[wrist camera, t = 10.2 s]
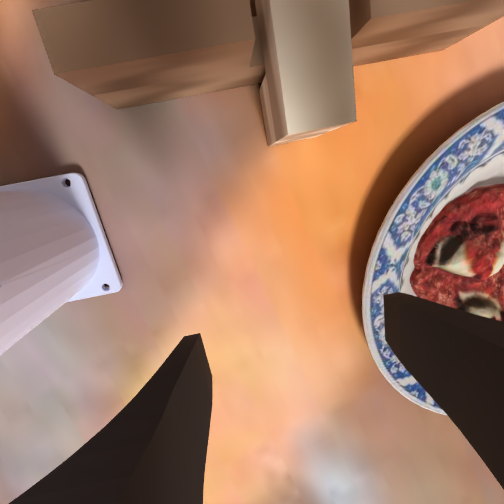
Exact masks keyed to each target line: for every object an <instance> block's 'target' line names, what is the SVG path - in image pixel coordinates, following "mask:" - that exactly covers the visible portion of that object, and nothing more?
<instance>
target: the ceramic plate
mask: <svg viewBox="0 0 504 504" xmlns="http://www.w3.org/2000/svg"><path fill="white" fill-rule="evenodd" d="M396 292H401V293H406V294H409V295H413V296H416V297H420V298H423V299H426V300H430V301H433V302H436V303H439V304H442V305H446V306H449V307H452V308H455V309H459V310H462V311H465V312H469V313H472V314H476V315H479V316H483V317H487V318H491V319H494V320H498V321H502V322H504V102H502V103H499V104H497V105H496V106H494V107H492V108H491V109H489V110H487V111H486V112H484V113H482V114H480V115H479V116H477V117H476V118H474V119H473V120H472V121H470V122H469V123H467V124H466V125H465V126H463V127H462V128H460V129H459V130H458V131H457V132H455V133H454V134H453V135H452V136H451V137H449V138H448V139H447V140H446V141H445V142H444V143H442V144H441V145H440V146H439V147H438V148H437V149H436V150H435V151H434V152H433V153H432V154H431V155H430V156H429V157H428V158H427V159H426V160H425V161H424V163H423V164H422V165H421V166H420V167H419V168H418V170H417V171H416V172H415V173H414V174H413V175H412V177H411V178H410V179H409V181H408V182H407V183H406V185H405V186H404V188H403V189H402V190H401V192H400V193H399V195H398V196H397V198H396V200H395V201H394V203H393V204H392V206H391V208H390V209H389V211H388V213H387V215H386V217H385V219H384V221H383V223H382V225H381V227H380V229H379V231H378V234H377V236H376V239H375V241H374V244H373V246H372V249H371V252H370V256H369V259H368V263H367V266H366V272H365V278H364V283H363V289H362V318H363V326H364V332H365V336H366V340H367V344H368V346H369V349H370V352H371V354H372V357H373V359H374V360H375V362H376V364H377V366H378V368H379V370H380V371H381V373H382V374H383V375H384V377H385V378H386V380H387V381H388V382H389V383H390V384H391V385H392V386H393V387H394V388H395V389H396V390H397V391H398V392H399V393H401V394H402V395H403V396H404V397H406V398H407V399H409V400H410V401H412V402H413V403H415V404H417V405H419V406H421V407H423V408H425V409H428V410H431V411H434V412H436V413H440V414H444V415H447V414H446V413H445V412H444V411H443V410H442V409H441V407H440V406H439V405H438V404H437V403H436V402H435V401H434V400H433V399H432V397H431V396H430V395H429V394H428V393H427V392H426V391H425V390H424V389H423V387H422V386H421V385H420V384H419V383H418V382H417V381H416V380H415V378H414V377H413V376H412V375H411V374H410V373H409V372H408V371H407V369H406V368H405V367H404V366H403V365H402V364H401V362H400V361H399V360H398V358H397V357H396V355H395V354H394V353H393V351H392V350H391V348H390V347H389V345H388V344H387V342H386V341H385V327H384V300H383V295H387V294H391V293H396Z"/></svg>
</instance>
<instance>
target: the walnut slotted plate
mask: <svg viewBox="0 0 504 504" xmlns="http://www.w3.org/2000/svg"><path fill="white" fill-rule="evenodd" d="M32 12H33V15H34V18H35V21H36V23H37V26H38V29H39V32H40V35H41V38H42V40H43V43H44V46H45V49H46V52H47V55H48V58H49V60H50V63H51V66H52V69H53V72H54V74H55V75H56V76H58V77H60V78H62V79H64V80H65V81H67V82H69V83H71V84H73V85H74V86H76V87H78V88H80V89H82V90H83V91H85V92H87V93H89V94H91V95H92V96H94V97H96V98H98V99H100V100H101V101H103V102H105V103H107V104H109V105H110V106H112V107H114V108H116V109H121V108H127V107H132V106H138V105H143V104H149V103H154V102H160V101H165V100H171V99H176V98H182V97H187V96H193V95H198V94H204V93H209V92H215V91H220V90H226V89H231V88H237V87H242V86H248V85H253V84H259V83H262V82H263V79H264V77H265V74H266V72H265V65H264V59H263V52H262V45H261V39H260V32H259V25H258V19H257V16H254V17H252V14H251V8H250V1H249V0H89V1H83V2H77V3H71V4H65V5H59V6H54V7H48V8H42V9H36V10H32ZM349 12H350V28H351V43H352V58H353V66H358V65H364V64H369V63H375V62H380V61H386V60H391V59H397V58H402V57H408V56H413V55H419V54H424V53H430V52H435V51H441V50H444V49H446V48H448V47H450V46H451V45H453V44H455V43H457V42H458V41H460V40H462V39H464V38H466V37H467V36H469V35H471V34H473V33H474V32H476V31H478V30H480V29H482V28H483V27H485V26H487V25H489V24H490V23H492V22H494V21H496V20H498V19H499V18H501V17H503V16H504V0H349Z"/></svg>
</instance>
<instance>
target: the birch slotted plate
mask: <svg viewBox="0 0 504 504" xmlns="http://www.w3.org/2000/svg"><path fill="white" fill-rule="evenodd" d="M249 1H250V8H251V14H252V17H254V16H257V19H258V25H259V32H260V39H261V45H262V52H263V59H264V65H265V72H266V74H265V77H264V79H263V82H262V84H261V87H260V90H259V93H260V100H261V106H262V112H263V118H264V125H265V131H266V137H267V143H268V147H269V146H274V145H279V144H284V143H289V142H294V141H299V140H305V139H310V138H314V137H317V136H319V135H322V134H325V133H327V132H330V131H332V130H335V129H337V128H340V127H343V126H345V125H348V124H350V123H353V122H356V121H357V120H356V105H355V89H354V74H353V58H352V43H351V28H350V12H349V0H249Z"/></svg>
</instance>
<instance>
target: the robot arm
mask: <svg viewBox="0 0 504 504" xmlns="http://www.w3.org/2000/svg"><path fill="white" fill-rule="evenodd" d="M66 179H69V180H70V182H71V185H70V187H69V186H67V185H66V183H65V181H66ZM104 284H108V285H109V286H110V288H106V287H105V286H104ZM122 286H123V284H122V280H121V277H120V274H119V272H118V269H117V266H116V263H115V260H114V258H113V255H112V252H111V249H110V246H109V244H108V241H107V238H106V235H105V232H104V230H103V227H102V224H101V221H100V218H99V216H98V213H97V210H96V207H95V204H94V202H93V199H92V196H91V193H90V190H89V188H88V185H87V182H86V179H85V178H84V176H83V175H82V174H80V173H68V174H62V175H57V176H52V177H46V178H41V179H36V180H30V181H25V182H20V183H15V184H9V185H4V186H0V355H1V354H2V353H4V352H5V351H6V350H7V349H9V348H10V347H11V346H12V345H14V344H15V343H16V342H17V341H19V340H20V339H21V338H22V337H23V336H25V335H26V334H27V333H28V332H30V331H31V330H32V329H33V328H35V327H36V326H37V325H38V324H40V323H41V322H42V321H43V320H44V319H46V318H47V317H48V316H49V315H51V314H52V313H53V312H54V311H56V310H57V309H58V308H59V307H61V306H62V305H63V304H64V303H65V302H69V301H74V300H79V299H84V298H89V297H94V296H99V295H104V294H109V293H114V292H117V291H119V290H120V289H121V288H122ZM383 300H384V327H385V341H386V342H387V344H388V345H389V347H390V348H391V350H392V351H393V353H394V354H395V355H396V357H397V358H398V360H399V361H400V362H401V364H402V365H403V366H404V367H405V368H406V369H407V371H408V372H409V373H410V374H411V375H412V376H413V377H414V378H415V380H416V381H417V382H418V383H419V384H420V385H421V386H422V387H423V389H424V390H425V391H426V392H427V393H428V394H429V395H430V396H431V397H432V399H433V400H434V401H435V402H436V403H437V404H438V405H439V406H440V407H441V409H442V410H443V411H444V412H445V413H446V414H447V415H448V416H449V418H450V419H451V420H452V421H453V422H454V424H455V425H456V426H457V427H458V428H459V429H460V431H461V432H462V433H463V435H464V436H465V437H466V439H467V440H468V441H469V443H470V444H471V445H472V447H473V448H474V449H475V451H476V452H477V453H478V455H479V456H480V457H481V459H482V460H483V461H484V463H485V464H486V465H487V467H488V468H489V470H490V471H491V472H492V474H493V475H494V477H495V478H496V479H497V481H498V482H499V483H500V485H501V486H502V488H503V489H504V322H502V321H498V320H494V319H491V318H487V317H483V316H479V315H476V314H472V313H469V312H465V311H462V310H459V309H455V308H452V307H449V306H446V305H442V304H439V303H436V302H433V301H430V300H426V299H423V298H420V297H416V296H413V295H409V294H406V293H401V292H396V293H391V294H387V295H383ZM211 411H212V374H211V371H210V367H209V363H208V360H207V356H206V353H205V349H204V345H203V342H202V338H201V335H200V333H199V334H194V335H189V336H184V337H183V339H182V340H181V341H180V342H179V344H178V345H177V346H176V348H175V349H174V350H173V351H172V353H171V354H170V355H169V357H168V358H167V359H166V360H165V362H164V363H163V364H162V365H161V367H160V368H159V369H158V370H157V372H156V373H155V374H154V375H153V376H152V378H151V379H150V380H149V381H148V382H147V383H146V384H145V386H144V387H143V388H142V389H141V390H140V391H139V392H138V394H137V395H136V396H135V397H134V398H133V399H132V400H131V401H130V402H129V403H128V404H127V405H126V406H125V407H124V409H123V410H122V411H120V412H119V413H118V414H117V415H116V416H115V417H114V418H113V419H112V420H111V421H110V422H109V423H108V424H107V425H106V426H105V427H104V428H103V429H102V430H101V431H99V432H98V433H97V434H96V435H95V436H94V437H92V438H91V439H90V440H89V441H88V442H87V443H86V444H84V445H83V446H82V447H81V448H80V449H79V450H77V451H76V452H75V453H74V454H73V455H72V456H70V457H69V458H68V459H67V460H66V461H64V462H63V463H62V464H61V465H59V466H58V467H57V468H56V469H54V470H53V471H52V472H50V473H49V474H48V475H47V476H45V477H44V478H43V479H41V480H40V481H39V482H37V483H36V484H35V485H33V486H32V487H31V488H29V489H28V490H27V491H25V492H24V493H23V494H21V495H20V496H19V497H17V498H16V499H14V500H13V501H12V502H10V503H9V504H203V485H204V472H205V463H206V454H207V446H208V437H209V428H210V420H211Z"/></svg>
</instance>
